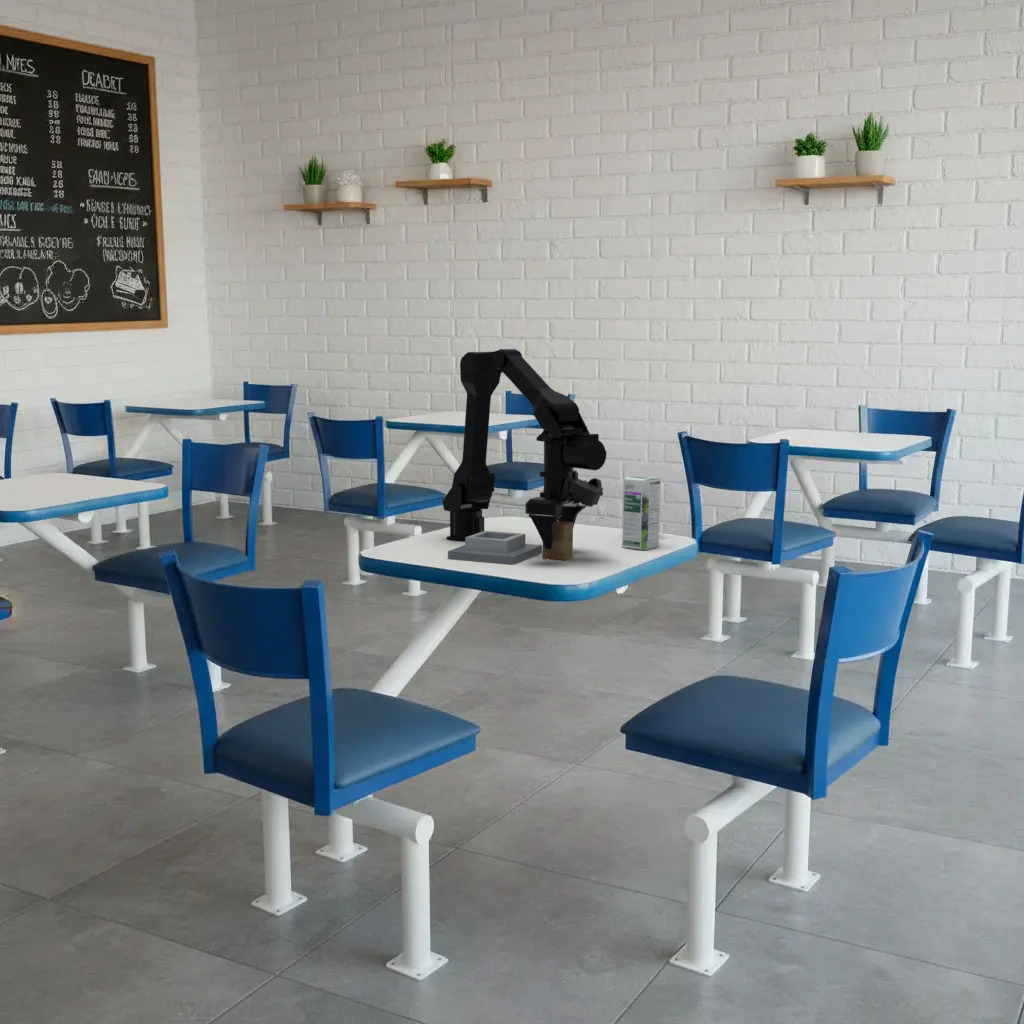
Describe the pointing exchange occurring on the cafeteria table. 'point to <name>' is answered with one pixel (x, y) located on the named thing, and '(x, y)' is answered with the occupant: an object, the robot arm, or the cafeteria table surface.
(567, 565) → the cafeteria table surface
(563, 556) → the walnut peg
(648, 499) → the syrup box
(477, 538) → the socket block
